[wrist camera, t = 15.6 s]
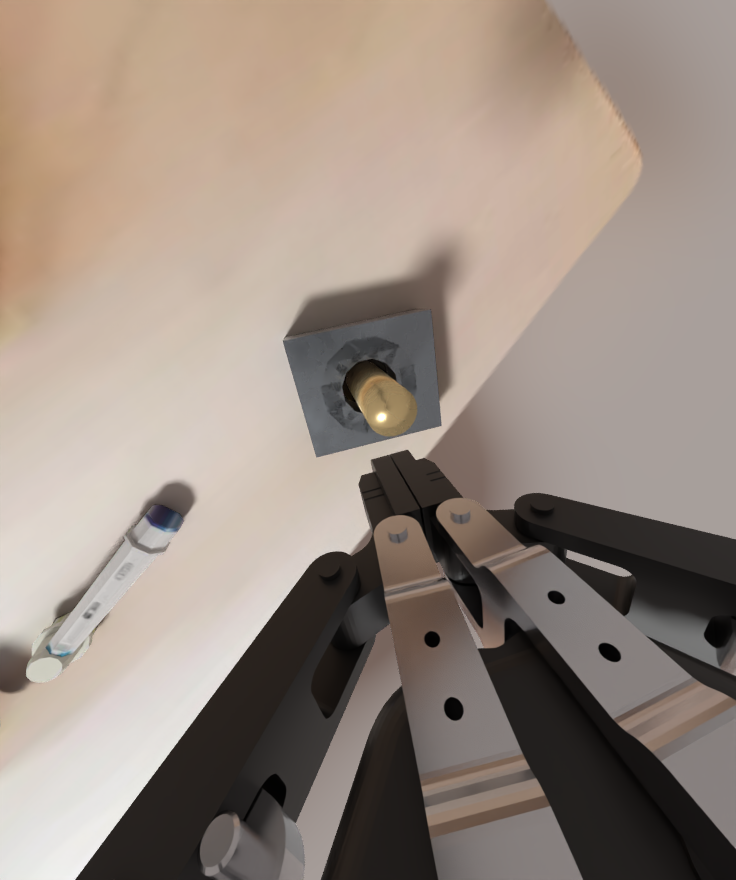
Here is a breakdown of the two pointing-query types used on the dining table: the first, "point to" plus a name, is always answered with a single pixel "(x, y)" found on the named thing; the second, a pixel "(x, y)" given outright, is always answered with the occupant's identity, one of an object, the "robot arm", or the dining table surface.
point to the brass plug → (381, 399)
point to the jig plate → (338, 349)
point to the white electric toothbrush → (102, 595)
